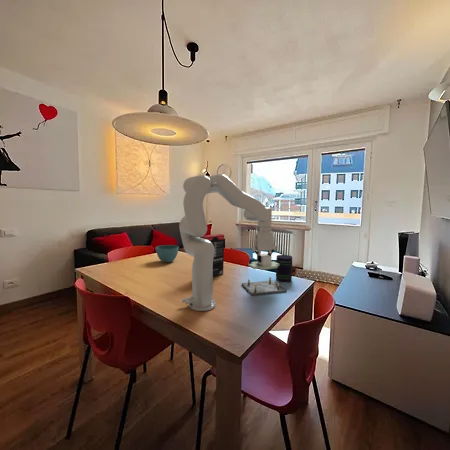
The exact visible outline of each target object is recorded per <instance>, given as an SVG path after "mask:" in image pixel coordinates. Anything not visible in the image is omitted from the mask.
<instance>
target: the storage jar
mask: <svg viewBox="0 0 450 450" xmlns="http://www.w3.org/2000/svg"><path fill="white" fill-rule="evenodd" d="M275 259H276V261H275V262H276V263H278V264H279V266H278V268H276V270H275V281H276V282H278V283H279V282H280V283H291V282H292V279H293V278H292V277H293V272H292V271H293V256H292V255H287V254H278V255H276V258H275Z"/></svg>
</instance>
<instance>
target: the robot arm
mask: <svg viewBox="0 0 450 450" xmlns="http://www.w3.org/2000/svg"><path fill="white" fill-rule="evenodd" d="M182 187H183V188H182V189H183V191H184V192H185V194H184V197H183V211H184V216H183V217H182V218H181V219H180V221H179V227H178V228H179V232H180V233H179V234H180V237H181V242H182V246H183V248H184V250H185V253H187V254H188V255H189V256H190V257H193V261H192V266H191V285H192V286H191V288H192V289H191V290H192V291H191V292H192V293H191V294H190V296H189V297H182V298H181V302H182V303H185V305H188V308H189V309H191V310H193V311H196V312H207V311H211V310H212V309H214V308H215V307H216V305H217V302H216V300H215V299H214V298H213V293H214V291H213V289H214V287H213V286H214V285H213V284H214V283H213V277H214V276H213V258H214V252H215V250H214V246H213V244H212V243H211V242H210V241H209V240H207V239H203V238H200V237H201V236H206V235H207V232H208V224H207V221H206V215H205V210H204V199H205V197H206V195H207V194H214V193H216V194H219V195H220V196H221V197H222V198H223V199H225V200H226V201H227V203H229V204H231V205H232V206H234V207H235V208H239V209H241V210H242V209H243V210H244V211H243V217H244V219H246V220H247V221H250V222H257V227H255V231H256V234H255V239H254V245H253V246H252V247H251V251H252V252H254V253H255V255H256V262H257V261H258V262H259V263H261V255H260V254H262V252H263V251H264V252H265V251H267V253H266V254H267V255H270V256H271V257H272V255H273V253H274V252H275V251H276V250H277V248H278V247H277V246H276V245H275V238H274V237H275V236H274V232H273V231H272V215H273V214H272V213H273V212H272V210H273V209H272V207H269V206H267V207H266V206H265V205H264V204H263V203H262V202H261V201H260V200H258V199H257V198H255V197H253V196H252V195H250V194H248V193H246V192H244V191H243V190H242V189H240V187H238V185H236V183H234V182H233V181H232V180H231V178H229V177H228V176H227V175H225V174H223V173H219V174H214V175H204V174H201V175H200V174H199V175H195V176H190V177H187V178H186V179H185V180H184V182H183V184H182Z"/></svg>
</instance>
